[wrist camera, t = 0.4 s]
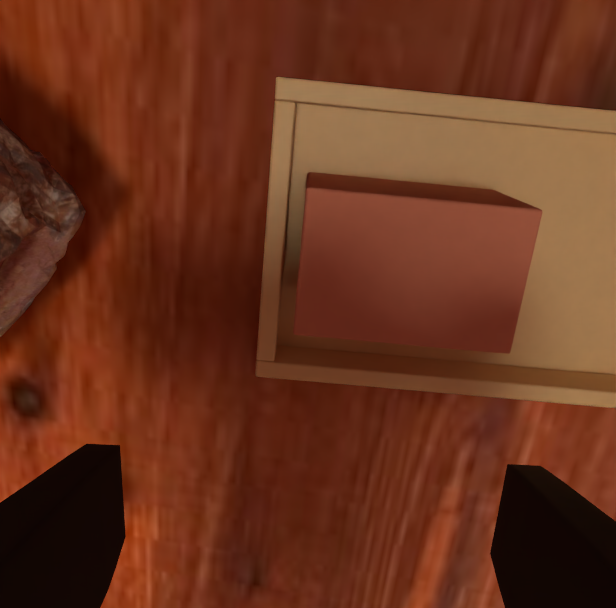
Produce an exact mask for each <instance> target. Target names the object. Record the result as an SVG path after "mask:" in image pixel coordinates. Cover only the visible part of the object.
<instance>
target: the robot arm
mask: <svg viewBox="0 0 616 608" xmlns="http://www.w3.org/2000/svg"><path fill="white" fill-rule="evenodd" d="M124 539H125V521H124V505H123V489H122V473H121V457H120V445H99V444H86V445H84V446H83V447H81V448H79V449H78V450H76V451H75V452H73V453H72V454H70V455H69V456H67V457H66V458H64V459H63V460H62V461H60V462H59V463H57V464H56V465H54V466H53V467H52V468H50V469H49V470H47V471H46V472H44V473H43V474H42V475H40V476H39V477H37V478H36V479H34V480H33V481H31V482H30V483H29V484H27V485H26V486H24V487H23V488H21V489H20V490H18V491H17V492H15V493H14V494H12V495H11V496H9V497H8V498H7V499H5V500H4V501H2V502H1V503H0V608H100V607H101V604H102V602H103V600H104V598H105V596H106V593H107V591H108V589H109V586H110V583H111V580H112V577H113V574H114V571H115V568H116V565H117V562H118V559H119V555H120V552H121V549H122V546H123V543H124ZM490 554H491V558H492V562H493V566H494V569H495V573H496V577H497V581H498V585H499V588H500V592H501V595H502V598H503V602H504V605H505V608H616V522H615V521H614V520H613V519H612V518H610V517H609V516H608V515H606V514H605V513H604V512H602V511H601V510H600V509H598V508H597V507H596V506H594V505H593V504H592V503H590V502H589V501H588V500H587V499H585V498H584V497H583V496H581V495H580V494H579V493H577V492H576V491H575V490H573V489H572V488H571V487H569V486H568V485H567V484H565V483H564V482H563V481H561V480H560V479H559V478H557V477H556V476H554V475H553V474H552V473H550V472H549V471H547V470H546V469H544V468H543V467H541V466H530V465H510V464H508V465H507V470H506V475H505V480H504V486H503V491H502V496H501V501H500V506H499V511H498V517H497V522H496V527H495V532H494V537H493V542H492V547H491V553H490Z"/></svg>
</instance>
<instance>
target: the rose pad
mask: <svg viewBox="0 0 616 608" xmlns="http://www.w3.org/2000/svg"><path fill="white" fill-rule="evenodd" d="M541 217H542V210H541V209H539V208H537V207H534V206H532V205H529V204H527V203H524V202H522V201H519V200H517V199H515V198H512V197H510V196H507V195H505V194H502V193H500V192H498V191H495V190H492V189H481V188H471V187H461V186H450V185H440V184H430V183H419V182H409V181H399V180H388V179H378V178H368V177H358V176H347V175H337V174H327V173H316V172H308V174H307V182H306V193H305V204H304V215H303V225H302V236H301V247H300V258H299V269H298V280H297V291H296V303H295V315H294V327H293V333H294V334H295V335H302V336H314V337H325V338H336V339H347V340H358V341H369V342H381V343H392V344H403V345H414V346H425V347H437V348H448V349H459V350H470V351H481V352H492V353H504V354H509V353H510V352H511V347H512V343H513V339H514V334H515V330H516V326H517V321H518V317H519V313H520V308H521V304H522V299H523V295H524V291H525V286H526V282H527V278H528V273H529V269H530V265H531V260H532V256H533V252H534V247H535V243H536V239H537V234H538V230H539V226H540V221H541Z"/></svg>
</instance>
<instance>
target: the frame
mask: <svg viewBox="0 0 616 608" xmlns="http://www.w3.org/2000/svg"><path fill="white" fill-rule="evenodd" d="M275 99H276V101H275V102H274V116H273V130H272V144H271V159H270V173H269V187H268V201H267V216H266V230H265V244H264V259H263V273H262V287H261V301H260V316H259V330H258V344H257V361H256V373H255V375H256V376H257V377H266V378H277V379H289V380H300V381H312V382H323V383H335V384H346V385H357V386H369V387H380V388H392V389H403V390H415V391H426V392H438V393H449V394H460V395H472V396H483V397H495V398H506V399H518V400H529V401H540V402H552V403H563V404H575V405H586V406H598V407H609V408H616V111H612V110H602V109H592V108H582V107H573V106H563V105H553V104H543V103H533V102H523V101H513V100H503V99H493V98H483V97H473V96H463V95H454V94H444V93H434V92H424V91H414V90H404V89H394V88H384V87H374V86H364V85H354V84H345V83H335V82H325V81H315V80H305V79H295V78H285V77H277V78H276V87H275ZM308 172H316V173H327V174H337V175H347V176H358V177H368V178H378V179H388V180H399V181H409V182H419V183H430V184H440V185H450V186H461V187H471V188H481V189H492V190H495V191H498V192H500V193H502V194H505V195H507V196H510V197H512V198H515V199H517V200H519V201H522V202H524V203H527V204H529V205H532V206H534V207H537V208H539V209H541V210H542V217H541V221H540V226H539V230H538V234H537V239H536V243H535V247H534V252H533V256H532V260H531V265H530V269H529V273H528V278H527V282H526V286H525V291H524V295H523V299H522V304H521V308H520V313H519V317H518V321H517V326H516V330H515V334H514V339H513V343H512V347H511V352H510V353H509V354H504V353H492V352H481V351H470V350H459V349H448V348H437V347H425V346H414V345H403V344H392V343H381V342H369V341H358V340H347V339H336V338H325V337H314V336H302V335H295V334H294V333H293V327H294V315H295V303H296V291H297V280H298V269H299V258H300V247H301V236H302V225H303V215H304V204H305V193H306V182H307V174H308Z"/></svg>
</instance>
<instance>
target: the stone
mask: <svg viewBox="0 0 616 608" xmlns="http://www.w3.org/2000/svg"><path fill="white" fill-rule="evenodd" d="M85 212H86V211H85V209H84V207H83V206H82V204H81V202H80V200H79V199H78V197H77V195H76V193H75V191H74V189H73V187H72V185H70V184H69V183H67V182H66V181H65V180H64V179H63V178H62V177H61V176H60V175H59V173H58V172H57V171H56V170H55V169H54V168H53V167H52V166H51V164H50V163H49V161H48V160H47V159H46V158H45V157H44V156H43V155H42V154H41V153H40V152H35V151H33V150H30V149H29V147H28V146H27V145H26V144H25V143H24V142H23V141H22V140H21V139H20V138H19V137H18V136H17V135H16V134H15V133H13V132H12V131H11V130H10V129H9V128H8V127H7V126H6V125H5V124H4V122H3V121H2V120H1V119H0V336H2V335H3V334H4V333H5V332H6V331H7V330H8V329H9V328H10V327H11V326H12V325H13V324H14V323H15V322H16V321H17V320H18V318H19V317H20V316H21V315H22V314H23V313H24V312H25V311H26V310H27V309H28V307H29V306H30V305H31V304H32V302H33V300H34V298H35V297H36V296H37V295H38V294H39V292H40V291H41V290H42V289H43V288H44V287H45V286H46V285H47V283H48V282H49V280H50V278H51V277H52V275H53V274H54V272H55V271H56V269H57V266H56V262H58V261H59V260H60V259H61V258H63V257H64V256H65V253H66V249H67V246H68V242H69V241H70V240H71V239H72V238H73V236H74V235H75V233H76V231H77V230H78V228H79V227H80V225H81V223H82V220H83V218H84V215H85Z"/></svg>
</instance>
